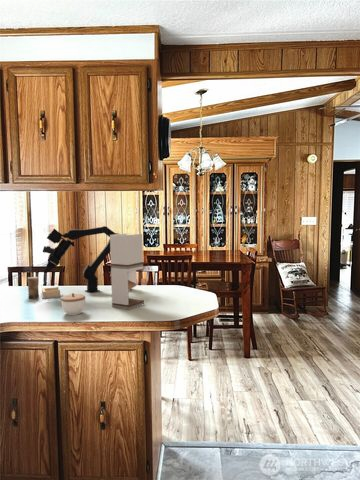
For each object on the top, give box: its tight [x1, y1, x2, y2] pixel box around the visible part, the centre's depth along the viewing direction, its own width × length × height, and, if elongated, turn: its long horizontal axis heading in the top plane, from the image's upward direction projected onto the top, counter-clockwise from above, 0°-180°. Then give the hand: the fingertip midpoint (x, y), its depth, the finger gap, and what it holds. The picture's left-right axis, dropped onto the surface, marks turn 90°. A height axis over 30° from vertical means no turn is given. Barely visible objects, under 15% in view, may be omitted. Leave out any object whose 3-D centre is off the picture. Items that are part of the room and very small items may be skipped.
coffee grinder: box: [109, 233, 145, 311], centre depth 178 cm, size 11×11×35 cm
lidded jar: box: [60, 292, 86, 316], centre depth 167 cm, size 11×11×9 cm
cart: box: [27, 276, 40, 300], centre depth 201 cm, size 5×6×11 cm
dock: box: [40, 286, 64, 300], centre depth 205 cm, size 11×12×4 cm
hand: (45, 271), depth 205 cm, fingers open, 9 cm apart
